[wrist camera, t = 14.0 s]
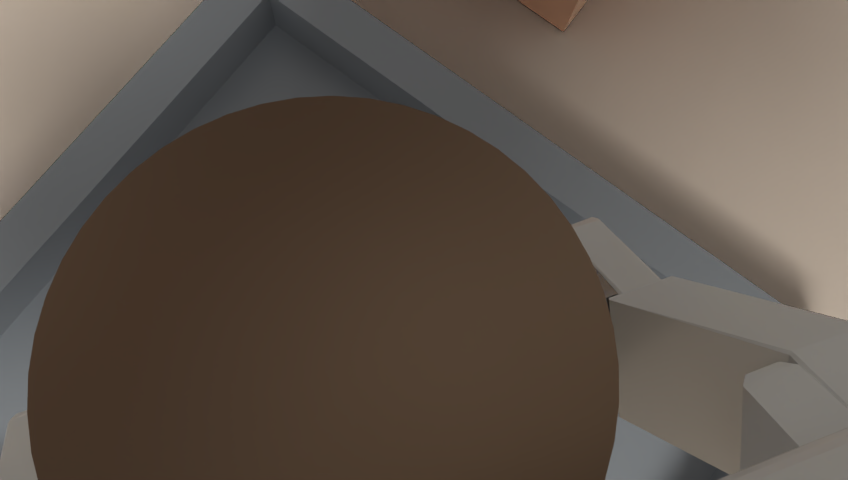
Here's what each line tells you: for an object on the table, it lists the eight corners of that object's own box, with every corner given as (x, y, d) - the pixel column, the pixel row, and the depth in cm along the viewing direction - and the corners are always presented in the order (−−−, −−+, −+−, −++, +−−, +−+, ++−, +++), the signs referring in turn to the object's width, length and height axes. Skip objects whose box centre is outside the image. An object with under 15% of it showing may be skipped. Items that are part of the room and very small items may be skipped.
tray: (816, 371, 19) (867, 364, 17) (467, 961, 15) (480, 1037, 13) (272, -15, 20) (261, -63, 18) (-150, 454, 17) (-217, 457, 15)
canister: (510, 383, 16) (725, 311, 6) (378, 575, 15) (389, 837, 5) (336, 254, 16) (285, -3, 7) (195, 431, 15) (-105, 433, 6)
